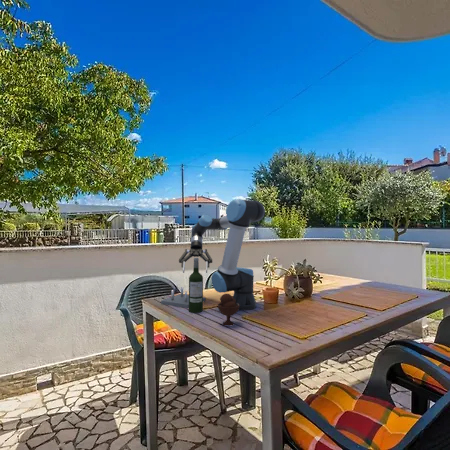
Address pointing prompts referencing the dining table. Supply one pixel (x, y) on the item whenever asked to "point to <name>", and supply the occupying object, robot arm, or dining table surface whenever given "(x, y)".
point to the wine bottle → (196, 289)
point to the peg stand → (178, 300)
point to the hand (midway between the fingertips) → (195, 271)
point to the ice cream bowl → (228, 307)
